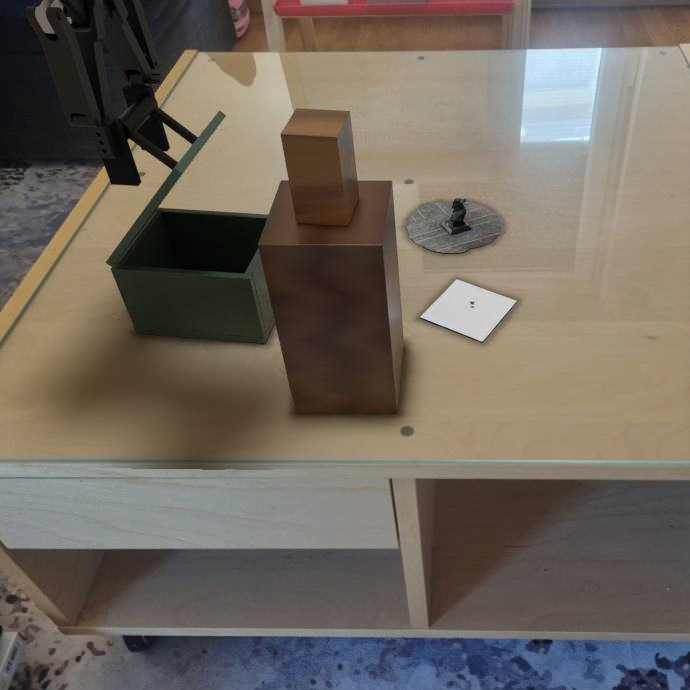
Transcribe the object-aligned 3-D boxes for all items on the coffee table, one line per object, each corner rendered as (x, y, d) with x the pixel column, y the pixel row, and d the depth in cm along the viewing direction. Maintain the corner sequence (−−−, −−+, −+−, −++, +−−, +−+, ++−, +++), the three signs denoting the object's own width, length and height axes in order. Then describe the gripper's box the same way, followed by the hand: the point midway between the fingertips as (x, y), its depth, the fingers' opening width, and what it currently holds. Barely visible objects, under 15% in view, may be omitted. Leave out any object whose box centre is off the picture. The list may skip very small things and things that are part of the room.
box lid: (226, 115, 75) (163, 66, 73) (182, 173, 67) (109, 120, 64) (159, 205, 84) (100, 165, 81) (112, 267, 76) (45, 224, 73)
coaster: (419, 317, 83) (419, 311, 83) (456, 279, 88) (456, 274, 88) (482, 341, 80) (482, 336, 80) (516, 301, 85) (517, 295, 85)
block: (348, 226, 61) (337, 136, 56) (296, 223, 62) (280, 133, 56) (359, 198, 64) (350, 110, 59) (310, 195, 65) (295, 107, 59)
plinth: (295, 413, 73) (257, 244, 59) (311, 343, 80) (280, 179, 67) (397, 413, 73) (382, 245, 59) (404, 344, 80) (392, 180, 67)
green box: (295, 278, 89) (282, 215, 83) (265, 343, 80) (249, 278, 74) (177, 269, 90) (157, 207, 84) (135, 333, 82) (110, 268, 76)
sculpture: (515, 219, 99) (501, 198, 91) (486, 281, 98) (469, 266, 91) (439, 189, 103) (418, 167, 95) (410, 249, 102) (388, 232, 95)
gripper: (32, -67, 51) (135, 221, 67) (151, -127, 65) (213, 123, 80) (-69, -69, 52) (56, 216, 67) (69, -128, 65) (146, 120, 81)
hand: (141, 165), depth 74 cm, fingers closed on box lid, 6 cm apart
